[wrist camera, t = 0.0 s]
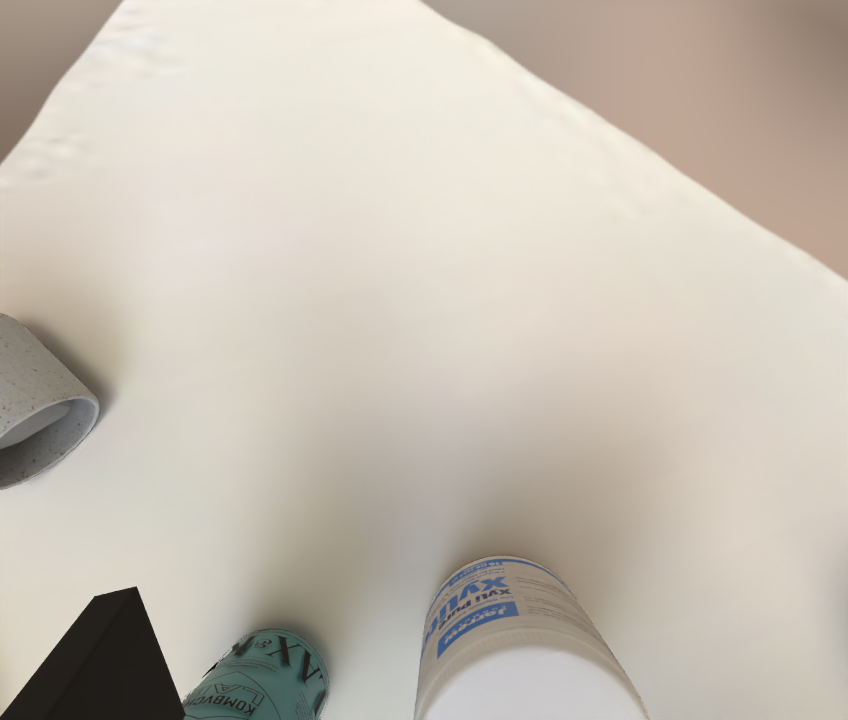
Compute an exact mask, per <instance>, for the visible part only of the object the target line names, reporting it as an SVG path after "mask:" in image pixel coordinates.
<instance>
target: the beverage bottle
mask: <svg viewBox="0 0 848 720" xmlns="http://www.w3.org/2000/svg"><path fill="white" fill-rule="evenodd" d="M263 630H267V629H263ZM259 631H260V630H259ZM255 632H256V631H255ZM248 635H249V634H248ZM246 636H247V635H246ZM244 637H245V636H244ZM241 640H242V638H241ZM235 644H236V643H235ZM235 644H234V646H233V650H232V651H231V652H230V653H229V654H228V655H227V656H226V657H225V658H224V659H222V660H223V661H222V660H221V661H222V662H221V661H220V660H219V661H220V662H221V663H220V662H219V663H220V664H219V665H217V664H218V663H216V664H214V666H213V667H212V668H211V669H210V670H209V671H208V672H207V673H209V672H210V671H211V670H213V669H214V670H213V671H212V672H211V673H210V674H209V675H208V676H207V677H206V678H205V680H204V681H203V682H202V683H201V684H200V685H199V686H198V687H197V688H196V689H194V691H193V692H192V693H191V691H190V693H191V694H190V693H189V695H188V696H187V695H186V696H187V698H186V700H185V701H184V700H183V703H182V706H183V708H184V711H185V713H186V715H185V717H184V720H318V718H319V716H320V714H321V712H322V709H323V707H324V704H325V700H326V695H327V696H328V694H327V690H328V687H327V678H326V672H327V670H326V672H325V669H326V668H324V666H325V665H323V664H324V663H323V661H322V659H321V657H320V655H319V654H318V652H317V651H316V650H315V648H314V647H313V646H312V645H311V644H310V643H309V642H308V641H306V640H305V639H304V638H302V637H301V636H299V635H297V634H295V633H292V632H289V631H286V630H280V629H276V630H267V631H262V632H258V633H255V634H252V635H251V636H249V637H247V638H246V639H244V640H243V641H240V643H239V640H238V643H237V644H236V645H235ZM227 652H228V651H227ZM224 655H225V654H224ZM222 658H223V657H222ZM216 665H217V667H216ZM215 667H216V668H215ZM207 673H206V674H207ZM206 674H205V675H206ZM205 675H204V676H205ZM204 676H203V677H204ZM327 676H328V674H327ZM203 677H202V678H203ZM328 682H329V680H328ZM328 697H329V696H328ZM326 703H327V702H326ZM325 708H326V707H325ZM323 713H324V712H323ZM320 718H321V717H320ZM319 720H320V719H319Z"/></svg>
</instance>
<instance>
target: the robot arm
mask: <svg viewBox="0 0 848 720" xmlns="http://www.w3.org/2000/svg"><path fill="white" fill-rule="evenodd" d="M185 715H186V713H185V711H184V708H183V706H182V703H181V700H180V698H179V695H178V693H177V690H176V687H175V685H174V682H173V680H172V677H171V675H170V672H169V669H168V667H167V664H166V662H165V659H164V656H163V654H162V651H161V649H160V646H159V643H158V641H157V638H156V636H155V633H154V630H153V628H152V625H151V623H150V620H149V617H148V615H147V612H146V610H145V607H144V604H143V602H142V599H141V597H140V594H139V591H138V589H137V586H136V587H132V588H127V589H123V590H119V591H115V592H111V593H107V594H102V595H98V596H94V598H93V599H92V600H91V602H90V603H89V604H88V605H87V607H86V608H85V609H84V611H83V612H82V613H81V614H80V616H79V617H78V618H77V620H76V621H75V622H74V623H73V625H72V626H71V627H70V628H69V630H68V631H67V632H66V634H65V635H64V636H63V637H62V639H61V640H60V641H59V643H58V644H57V645H56V646H55V648H54V649H53V650H52V652H51V653H50V654H49V655H48V657H47V658H46V659H45V661H44V662H43V663H42V664H41V666H40V667H39V668H38V669H37V671H36V672H35V673H34V675H33V676H32V677H31V678H30V680H29V681H28V682H27V684H26V685H25V686H24V687H23V689H22V690H21V691H20V693H19V694H18V695H17V696H16V698H15V699H14V700H13V702H12V703H11V704H10V705H9V707H8V708H7V709H6V710H5V712H4V713H3V714H2V716H1V717H0V720H184V717H185Z"/></svg>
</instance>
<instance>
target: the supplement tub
mask: <svg viewBox="0 0 848 720" xmlns="http://www.w3.org/2000/svg"><path fill="white" fill-rule="evenodd" d="M414 720H649V718H648V716H647V712H646V710H645V708H644V705H643V703H642V701H641V699H640V697H639V695H638V693H637V691H636V690H635V688H634V686H633V684H632V683H631V681H630V679H629V678H628V676H627V675H626V673H625V671H624V670H623V668H622V667H621V665H620V664H619V662H618V661H617V659H616V658H615V656H614V655H613V653H612V652H611V650H610V649H609V647H608V646H607V644H606V643H605V641H604V640H603V638H602V637H601V635H600V634H599V632H598V631H597V629H596V628H595V626H594V625H593V623H592V622H591V620H590V619H589V617H588V616H587V614H586V613H585V612H584V610H583V609H582V607H581V606H580V604H579V603H578V601H577V600H576V598H575V597H574V595H573V594H572V593H571V591H570V590H569V588H568V587H567V586H566V585H565V584H564V583H563V581H562V580H561V579H560V578H559V577H557V576H556V575H555V574H554V573H553V572H551V571H550V570H548V569H547V568H545V567H543V566H541V565H540V564H537V563H535V562H533V561H530V560H527V559H524V558H520V557H513V556H491V557H486V558H482V559H479V560H476V561H473V562H471V563H469V564H467V565H465V566H464V567H462V568H460V569H459V570H458V571H456V572H455V573H453V574H452V575H451V576H450V577H449V578H448V579H447V580H446V581H445V582H444V583H443V584H442V586H441V587H440V588H439V590H438V591H437V593H436V595H435V597H434V598H433V600H432V602H431V605H430V607H429V610H428V614H427V617H426V621H425V627H424V633H423V642H422V651H421V660H420V669H419V678H418V687H417V696H416V704H415V713H414Z"/></svg>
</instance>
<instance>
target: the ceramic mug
mask: <svg viewBox="0 0 848 720" xmlns="http://www.w3.org/2000/svg"><path fill="white" fill-rule="evenodd" d="M99 413H100V404H99V401H98V399H97V397H96V396H95V395H94V394H93V393H92V392H91V391H90V390H89V389H88V388H87V387H86V386H85V385H84V384H83V383H82V382H81V381H80V380H79V379H78V378H77V377H76V376H75V375H74V374H73V373H72V372H71V371H70V370H69V369H68V368H67V367H66V366H64V365H63V364H62V363H61V362H60V361H59V360H58V359H57V358H56V357H55V356H54V355H53V354H52V353H51V352H50V351H49V350H48V349H47V348H46V347H45V346H44V345H43V344H42V343H41V342H40V341H39V340H38V339H37V338H36V337H35V336H34V334H33V333H31V332H30V331H29V330H28V329H27V328H26V327H24V326H23V325H21V324H20V323H19V322H17V321H16V320H14V319H13V318H11V317H9V316H7V315H5V314H2V313H0V490H3V489H7V488H10V487H12V486H15V485H19V484H21V483H23V482H25V481H27V480H29V479H31V478H33V477H35V476H37V475H39V474H40V473H42V472H43V471H45V470H47V469H48V468H50V467H51V466H53V465H54V464H56V463H57V462H59V461H60V460H61V459H62V458H63V457H64V456H66V455H67V454H68V453H69V452H70V451H71V450H73V449H74V448H75V447H76V446H77V445H78V444H79V443H80V442H81V441H82V440H83V439H84V438H85V437H86V435H87V434H88V433H89V432H90V430H91V429H92V428H93V426H94V425H95V423H96V421H97V418H98V415H99Z"/></svg>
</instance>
